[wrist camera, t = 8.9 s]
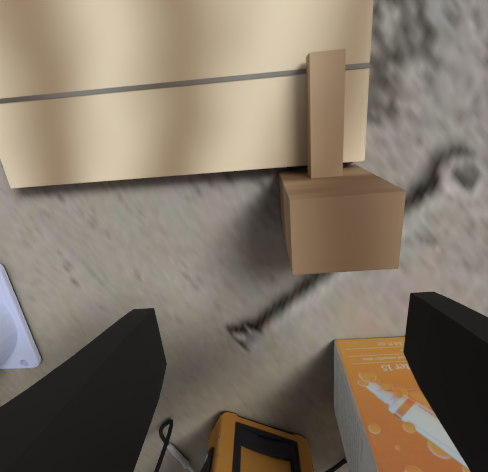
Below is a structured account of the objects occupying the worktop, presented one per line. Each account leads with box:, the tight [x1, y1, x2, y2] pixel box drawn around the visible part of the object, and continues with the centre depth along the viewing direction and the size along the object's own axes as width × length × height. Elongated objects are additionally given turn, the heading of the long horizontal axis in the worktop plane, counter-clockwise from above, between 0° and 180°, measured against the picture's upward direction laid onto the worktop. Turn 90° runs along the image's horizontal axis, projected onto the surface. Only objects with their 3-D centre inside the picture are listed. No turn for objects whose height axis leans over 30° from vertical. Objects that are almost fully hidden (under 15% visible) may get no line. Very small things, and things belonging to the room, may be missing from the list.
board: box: [0, 0, 373, 188], centre depth 15 cm, size 18×8×1 cm, turn 95°
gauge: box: [279, 49, 406, 275], centre depth 13 cm, size 4×8×6 cm, turn 5°
